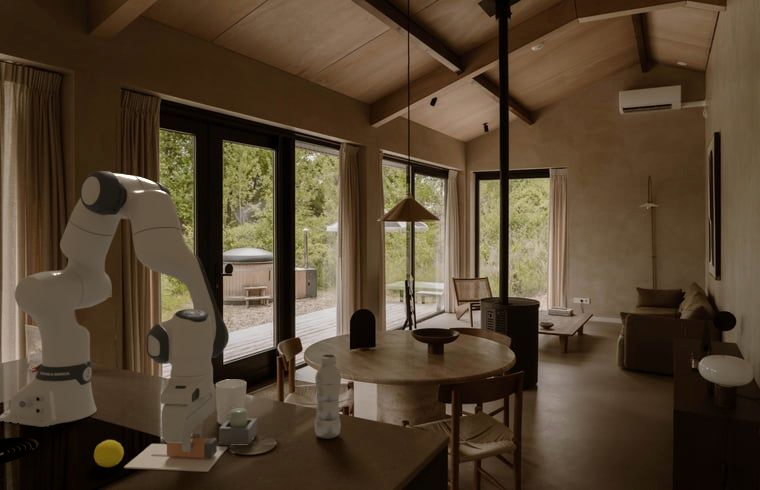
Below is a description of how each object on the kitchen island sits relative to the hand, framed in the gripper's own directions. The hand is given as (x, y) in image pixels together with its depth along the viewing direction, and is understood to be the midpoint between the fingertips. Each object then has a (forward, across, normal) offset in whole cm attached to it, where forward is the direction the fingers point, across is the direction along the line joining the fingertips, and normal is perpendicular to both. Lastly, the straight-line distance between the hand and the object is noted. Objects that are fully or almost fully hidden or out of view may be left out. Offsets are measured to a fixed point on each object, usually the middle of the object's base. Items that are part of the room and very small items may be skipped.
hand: (191, 446), depth 117 cm
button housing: (+3, -11, +7) cm, 13 cm away
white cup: (+3, -23, +1) cm, 23 cm away
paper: (+3, 0, -3) cm, 4 cm away
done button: (+1, -11, +7) cm, 13 cm away
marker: (+2, 0, 0) cm, 2 cm away
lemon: (+3, +5, -16) cm, 17 cm away
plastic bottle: (+3, -15, +28) cm, 32 cm away
